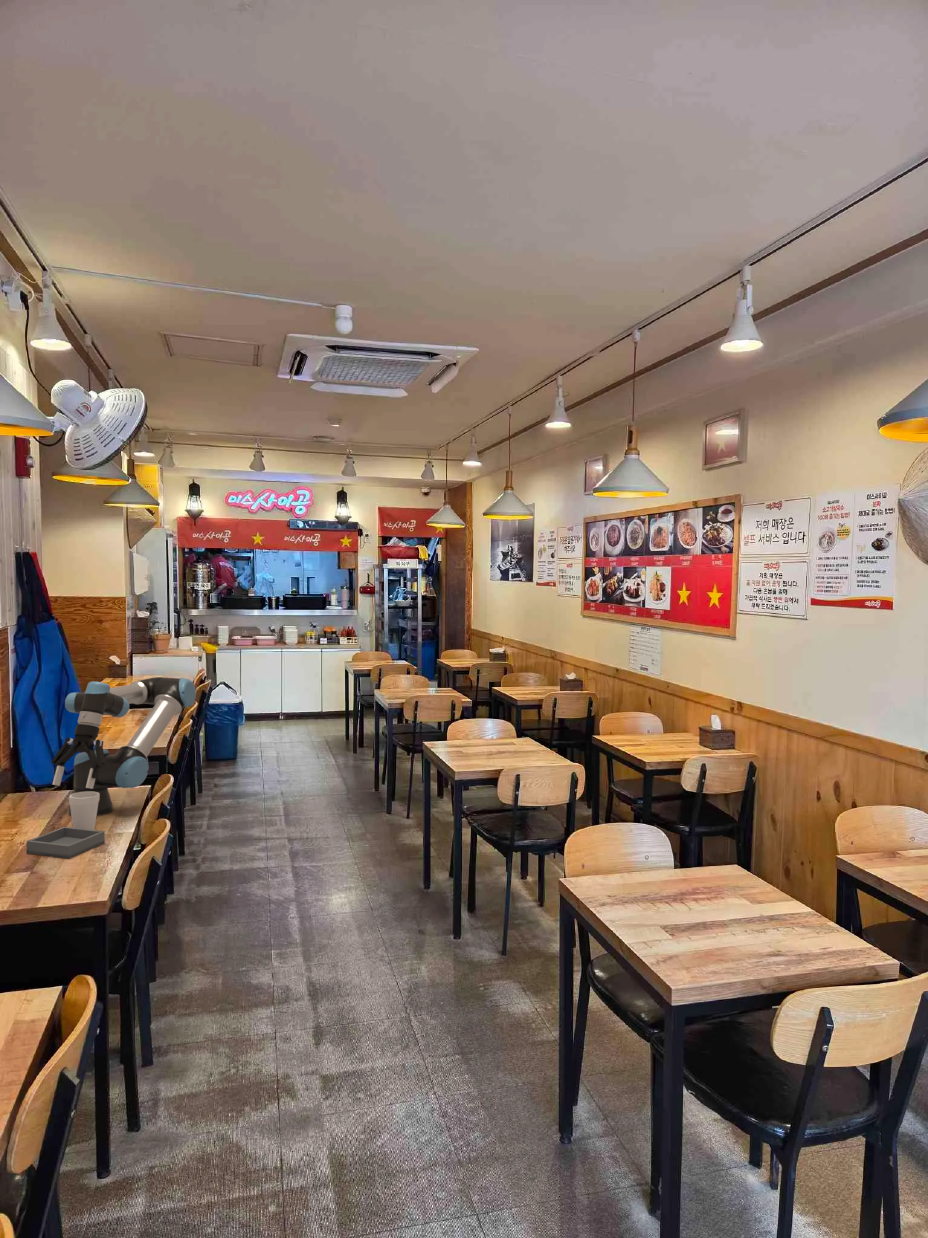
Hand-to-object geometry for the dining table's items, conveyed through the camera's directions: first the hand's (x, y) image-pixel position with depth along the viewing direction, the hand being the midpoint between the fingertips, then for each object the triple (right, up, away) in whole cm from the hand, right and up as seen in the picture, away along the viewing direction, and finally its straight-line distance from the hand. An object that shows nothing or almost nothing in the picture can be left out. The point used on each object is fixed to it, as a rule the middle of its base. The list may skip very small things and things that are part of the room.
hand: (72, 786), depth 260 cm
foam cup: (+2, -17, +5) cm, 18 cm away
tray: (+5, -17, -13) cm, 22 cm away
